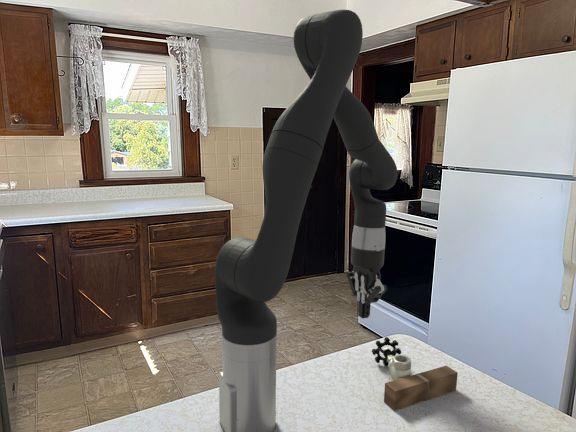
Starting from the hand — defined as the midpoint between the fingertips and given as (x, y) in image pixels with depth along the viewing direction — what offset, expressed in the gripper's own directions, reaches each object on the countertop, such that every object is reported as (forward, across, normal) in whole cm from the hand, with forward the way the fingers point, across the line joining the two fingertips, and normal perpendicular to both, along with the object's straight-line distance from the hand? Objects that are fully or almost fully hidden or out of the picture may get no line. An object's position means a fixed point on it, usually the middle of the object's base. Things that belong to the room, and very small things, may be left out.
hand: (363, 316), depth 99 cm
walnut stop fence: (+9, +19, 0) cm, 21 cm away
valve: (+10, +12, 0) cm, 15 cm away
